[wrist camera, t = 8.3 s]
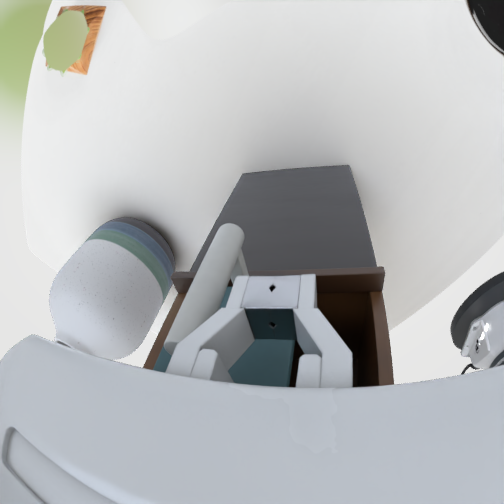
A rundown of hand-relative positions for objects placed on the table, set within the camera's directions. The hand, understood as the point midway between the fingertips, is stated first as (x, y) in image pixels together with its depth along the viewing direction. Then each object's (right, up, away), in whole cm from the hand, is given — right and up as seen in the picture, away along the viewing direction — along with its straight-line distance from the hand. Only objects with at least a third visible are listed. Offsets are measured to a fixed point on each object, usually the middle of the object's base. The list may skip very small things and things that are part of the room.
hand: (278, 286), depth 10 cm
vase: (-21, +2, +38) cm, 44 cm away
